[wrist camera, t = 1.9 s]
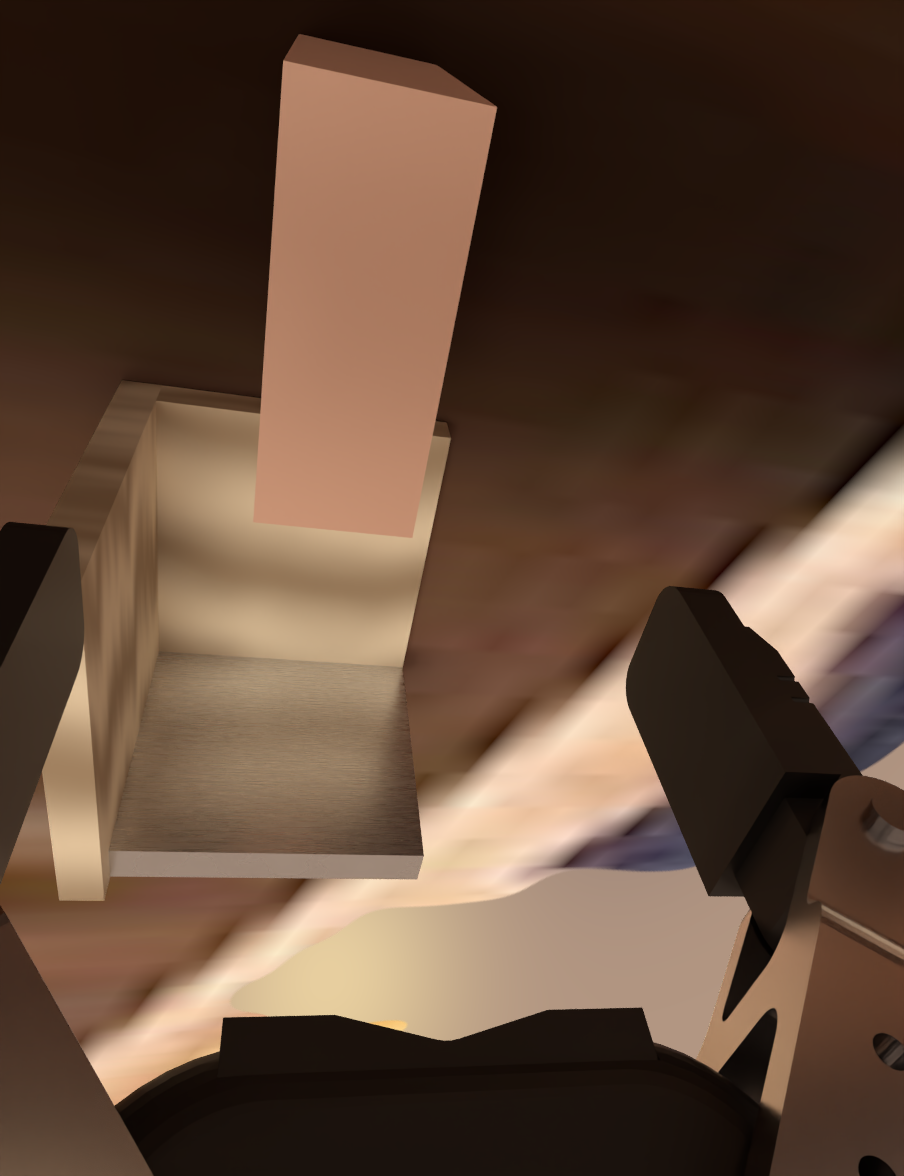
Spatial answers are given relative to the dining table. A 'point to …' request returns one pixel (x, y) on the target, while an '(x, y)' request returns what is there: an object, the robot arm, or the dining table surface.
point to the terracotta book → (363, 282)
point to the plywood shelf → (199, 588)
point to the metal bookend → (270, 773)
